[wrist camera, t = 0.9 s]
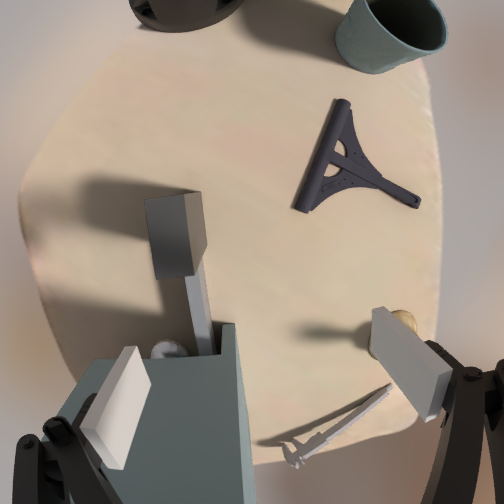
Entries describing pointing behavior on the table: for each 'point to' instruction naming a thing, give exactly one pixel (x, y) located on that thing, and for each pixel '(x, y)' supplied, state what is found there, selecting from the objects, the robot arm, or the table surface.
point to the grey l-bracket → (183, 255)
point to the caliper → (331, 431)
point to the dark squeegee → (345, 166)
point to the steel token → (168, 350)
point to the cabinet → (183, 430)
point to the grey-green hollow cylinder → (390, 33)
